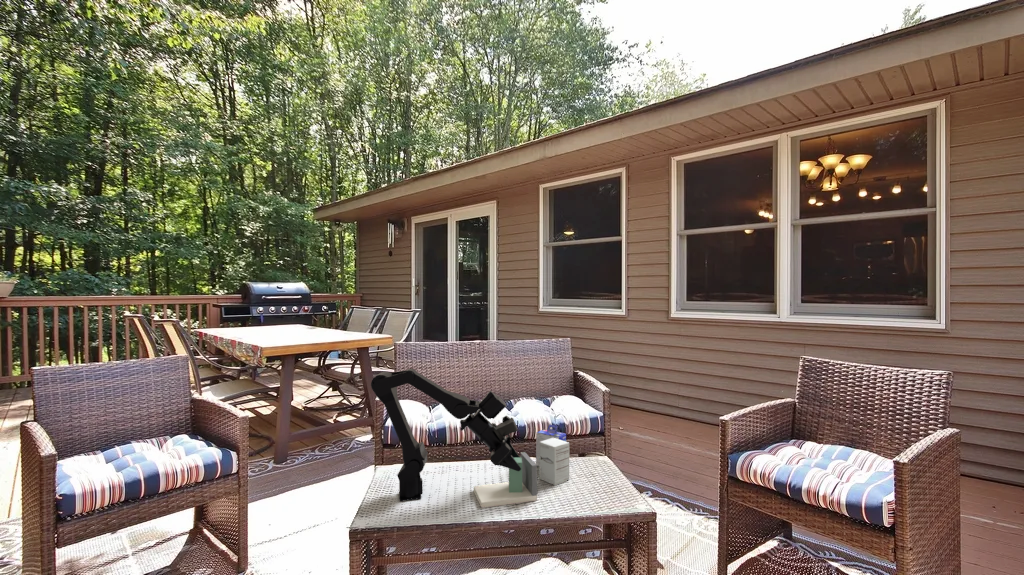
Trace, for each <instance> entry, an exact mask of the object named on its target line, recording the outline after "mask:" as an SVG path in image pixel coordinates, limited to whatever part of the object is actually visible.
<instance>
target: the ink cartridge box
mask: <svg viewBox="0 0 1024 575" xmlns="http://www.w3.org/2000/svg"><path fill="white" fill-rule="evenodd" d="M552 428H553V429H552ZM557 430H558V425H555V424H548V428H547V429H542V430H539V431H537V432H535V434H536V436H535V437H536V441H535V442H536V445H535V447H536V448H535V449H536V450H535V459H536V460H535V464H536V465H537V467H539V466H540V442H541V441H544V440H547V439H550V438H556V439H559V440H563V441H566V442H567V433H564V432H560V431H557Z"/></svg>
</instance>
